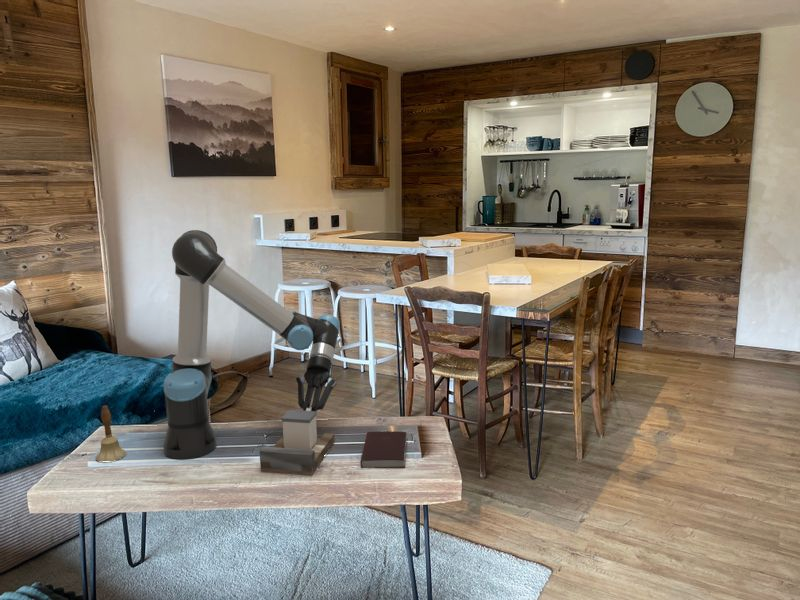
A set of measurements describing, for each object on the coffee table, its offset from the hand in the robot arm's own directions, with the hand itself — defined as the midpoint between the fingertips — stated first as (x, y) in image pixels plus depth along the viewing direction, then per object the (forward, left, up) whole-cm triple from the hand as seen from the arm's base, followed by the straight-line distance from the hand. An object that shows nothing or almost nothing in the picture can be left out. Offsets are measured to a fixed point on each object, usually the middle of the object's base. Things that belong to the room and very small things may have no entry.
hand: (305, 429), depth 185 cm
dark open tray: (+5, -4, -6) cm, 8 cm away
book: (+14, +20, -6) cm, 25 cm away
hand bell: (-20, -54, -6) cm, 58 cm away
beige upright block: (+4, -3, -4) cm, 6 cm away
